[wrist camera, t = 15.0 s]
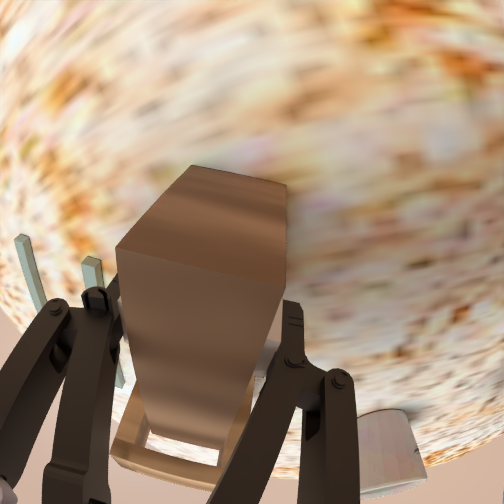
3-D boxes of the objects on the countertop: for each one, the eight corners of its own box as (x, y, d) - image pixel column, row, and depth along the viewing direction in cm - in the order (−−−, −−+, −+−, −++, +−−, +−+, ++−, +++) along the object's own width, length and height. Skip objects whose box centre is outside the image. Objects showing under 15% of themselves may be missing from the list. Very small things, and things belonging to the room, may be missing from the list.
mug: (399, 431, 31) (406, 491, 23) (297, 439, 33) (293, 504, 25) (429, 397, 26) (444, 472, 17) (305, 408, 27) (302, 494, 19)
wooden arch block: (150, 346, 24) (109, 453, 15) (255, 373, 24) (240, 488, 15) (152, 374, 26) (120, 466, 17) (244, 397, 27) (229, 494, 18)
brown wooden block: (191, 165, 14) (115, 247, 8) (286, 184, 15) (285, 287, 8) (178, 351, 23) (151, 433, 17) (235, 364, 23) (220, 450, 17)
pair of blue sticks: (20, 233, 18) (13, 239, 18) (100, 260, 19) (94, 267, 18) (62, 357, 28) (59, 362, 28) (124, 382, 29) (122, 388, 28)
